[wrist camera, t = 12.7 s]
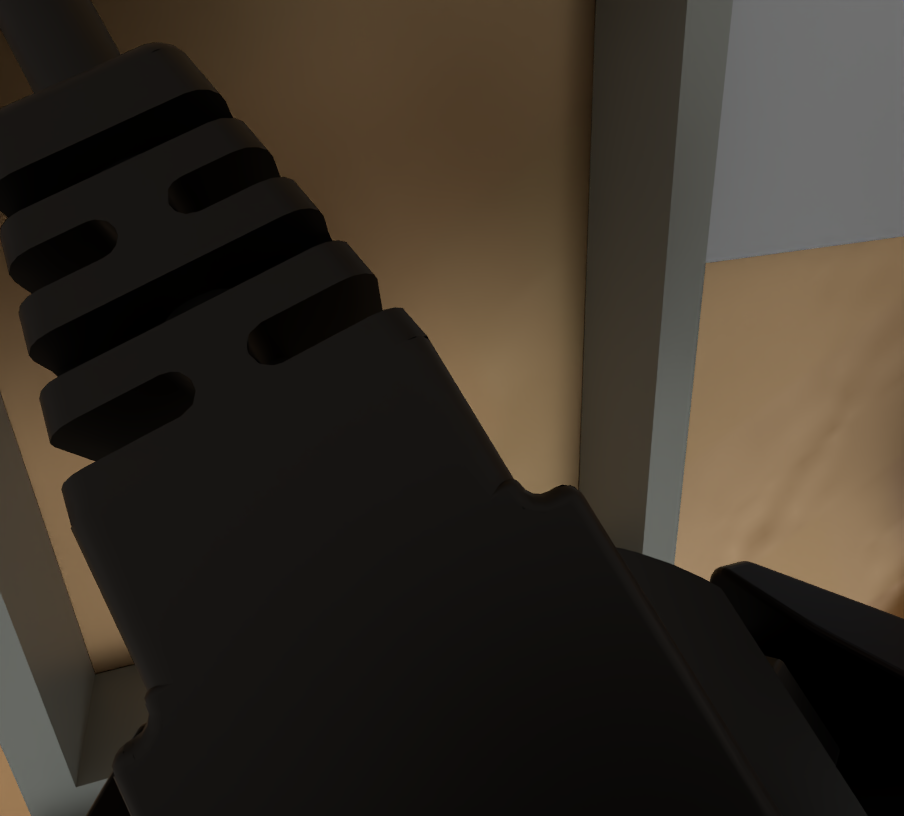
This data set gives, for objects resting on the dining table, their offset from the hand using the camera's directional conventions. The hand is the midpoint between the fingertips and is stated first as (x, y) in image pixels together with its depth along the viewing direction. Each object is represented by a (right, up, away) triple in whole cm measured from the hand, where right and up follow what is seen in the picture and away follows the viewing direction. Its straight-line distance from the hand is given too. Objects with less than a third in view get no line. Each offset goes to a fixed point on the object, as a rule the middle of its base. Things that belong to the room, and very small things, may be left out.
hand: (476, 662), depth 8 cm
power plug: (-2, +2, +1) cm, 3 cm away
